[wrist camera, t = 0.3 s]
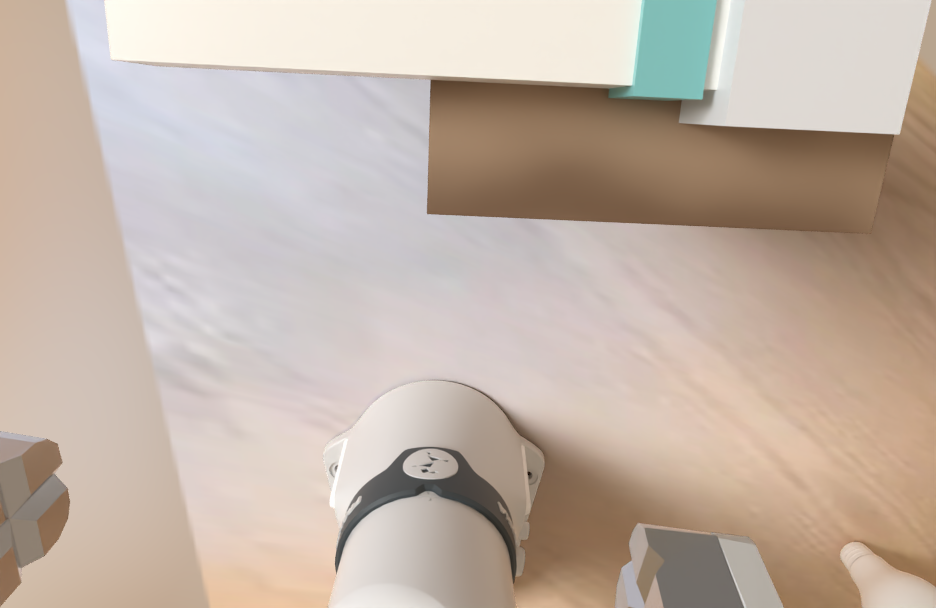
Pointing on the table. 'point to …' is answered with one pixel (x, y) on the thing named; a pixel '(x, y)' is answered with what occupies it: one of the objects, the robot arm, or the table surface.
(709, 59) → the bar
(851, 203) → the wooden i-beam block
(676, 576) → the robot arm
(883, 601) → the lightbulb
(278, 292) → the table surface
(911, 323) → the table surface
